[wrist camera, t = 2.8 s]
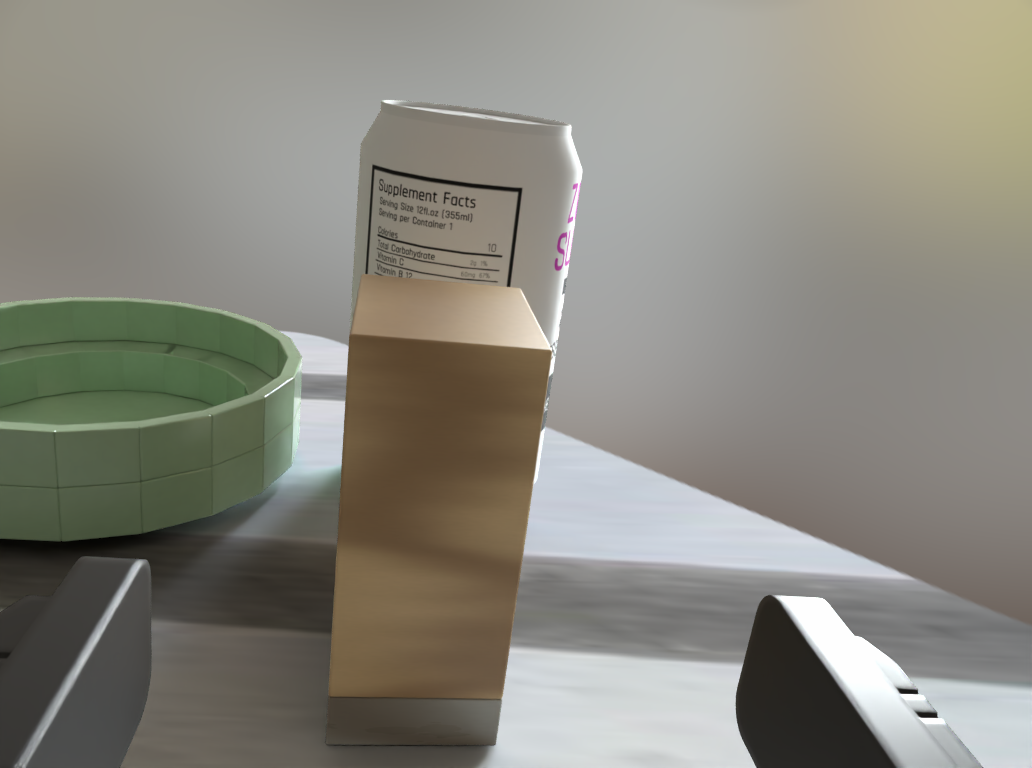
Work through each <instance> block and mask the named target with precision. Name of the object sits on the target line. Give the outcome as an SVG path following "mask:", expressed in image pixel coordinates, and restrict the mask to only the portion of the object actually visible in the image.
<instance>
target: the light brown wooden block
mask: <svg viewBox="0 0 1032 768" xmlns="http://www.w3.org/2000/svg"><path fill="white" fill-rule="evenodd" d="M551 359H552V350H551V348H550V346H549V344H548V342H547V340H546V338H545V336H544V334H543V332H542V330H541V328H540V326H539V324H538V322H537V320H536V318H535V316H534V314H533V312H532V310H531V308H530V306H529V304H528V302H527V300H526V298H525V296H524V294H523V293H522V291H521V289H520V288H513V287H502V286H491V285H480V284H469V283H458V282H447V281H436V280H425V279H414V278H403V277H392V276H381V275H370V274H362V275H361V278H360V283H359V289H358V294H357V299H356V304H355V309H354V315H353V320H352V325H351V330H350V336H349V351H348V368H347V385H346V402H345V419H344V436H343V453H342V470H341V487H340V504H339V521H338V538H337V555H336V572H335V589H334V606H333V623H332V639H331V656H330V673H329V690H328V707H327V724H326V741H325V742H326V744H334V745H495V744H496V739H497V733H498V726H499V719H500V712H501V705H502V696H503V690H504V683H505V676H506V669H507V663H508V656H509V649H510V642H511V635H512V628H513V621H514V614H515V607H516V600H517V594H518V587H519V580H520V573H521V566H522V559H523V552H524V545H525V538H526V531H527V524H528V518H529V511H530V504H531V497H532V490H533V483H534V476H535V469H536V462H537V455H538V449H539V442H540V435H541V428H542V421H543V414H544V407H545V400H546V393H547V386H548V379H549V373H550V366H551Z"/></svg>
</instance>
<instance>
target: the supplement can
mask: <svg viewBox="0 0 1032 768" xmlns="http://www.w3.org/2000/svg"><path fill="white" fill-rule="evenodd" d="M571 127H572V126H571V125H570V124H568V123H564V122H559V121H555V120H549V119H544V118H538V117H533V116H526V115H519V114H512V113H506V112H499V111H492V110H485V109H477V108H469V107H460V106H452V105H443V104H434V103H423V102H412V101H399V100H384V101H381V111H380V113H379V114H378V116H377V118H376V119H375V121H374V123H373V124H372V126H371V128H370V129H369V131H368V133H367V135H366V136H365V138H364V139H363V141H362V143H361V152H360V153H361V154H360V168H359V185H358V203H357V218H356V236H355V252H354V269H353V287H352V303H351V319H350V330H351V325H352V320H353V315H354V309H355V304H356V299H357V294H358V289H359V283H360V278H361V275H362V274H370V275H381V276H392V277H403V278H414V279H425V280H436V281H447V282H458V283H469V284H480V285H491V286H502V287H513V288H520V289H521V291H522V293H523V294H524V296H525V298H526V300H527V302H528V304H529V306H530V308H531V310H532V312H533V314H534V316H535V318H536V320H537V322H538V324H539V326H540V328H541V330H542V332H543V334H544V336H545V338H546V340H547V342H548V344H549V346H550V348H551V350H552V359H551V366H550V373H549V379H548V386H547V393H546V400H545V407H544V414H543V421H542V428H541V435H540V442H539V449H538V455H537V462H536V469H535V476H534V483H535V481H536V480H537V477H538V470H539V463H540V457H541V450H542V443H543V436H544V429H545V423H546V415H547V409H548V402H549V395H550V389H551V382H552V375H553V368H554V361H555V355H556V348H557V341H558V334H559V327H560V321H561V313H562V306H563V300H564V293H565V287H566V280H567V273H568V266H569V259H570V253H571V246H572V239H573V232H574V225H575V218H576V212H577V205H578V198H579V191H580V185H581V178H582V167H581V164H580V161H579V159H578V155H577V152H576V149H575V147H574V143H573V141H572V137H571ZM349 336H350V335H349ZM343 436H344V435H343ZM342 453H343V452H342ZM534 483H533V484H534Z"/></svg>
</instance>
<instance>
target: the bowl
mask: <svg viewBox="0 0 1032 768" xmlns="http://www.w3.org/2000/svg"><path fill="white" fill-rule="evenodd" d="M301 379H302V357H301V355H300V353H299V351H298V350H297V348H296V346H295V345H294V343H293V341H292V340H291V338H289V337H287V336H286V335H284V334H282V333H281V332H279V331H277V330H276V329H274V328H272V327H271V326H269V325H267V324H266V323H262V322H259V321H256V320H253V319H250V318H247V317H244V316H241V315H238V314H235V313H232V312H229V311H224V310H219V309H214V308H208V307H203V306H197V305H192V304H187V303H180V302H170V301H159V300H147V299H136V298H88V297H86V298H85V297H84V298H82V297H81V298H80V297H72V298H69V297H68V298H54V299H41V300H27V301H14V302H6V303H0V539H18V540H38V541H63V542H64V541H74V540H84V539H94V538H104V537H114V536H124V535H134V534H141V533H147V532H150V531H154V530H158V529H162V528H166V527H170V526H174V525H178V524H182V523H186V522H190V521H194V520H198V519H202V518H206V517H210V516H213V515H215V514H218V513H220V512H222V511H224V510H226V509H228V508H230V507H233V506H235V505H237V504H239V503H241V502H243V501H246V500H248V499H250V498H252V497H254V496H256V495H258V494H261V493H262V492H263V491H264V490H265V489H266V488H268V487H269V486H270V485H271V484H272V483H273V482H274V481H275V480H277V479H278V478H279V477H280V476H281V475H282V474H283V473H284V472H285V471H287V470H288V469H289V468H290V466H291V465H292V463H293V459H294V456H295V453H296V450H297V447H298V443H299V430H300V404H301V402H300V400H301Z"/></svg>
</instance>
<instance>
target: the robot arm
mask: <svg viewBox="0 0 1032 768" xmlns="http://www.w3.org/2000/svg"><path fill="white" fill-rule="evenodd" d="M150 677H151V571H150V565H149V563H148V561H147V560H144V559H126V558H107V557H89V556H83V557H81V558H79V559H78V560H77V562H76V563H75V564H74V566H73V567H72V568H71V570H70V571H69V573H68V574H67V575H66V577H65V578H64V580H63V581H62V582H61V584H60V585H59V587H58V588H57V589H56V591H55V592H54V594H53V595H52V596H32V595H27V596H25V597H23V598H22V599H20V600H19V601H17V602H15V603H14V604H12V605H11V606H9V607H8V608H6V609H4V610H3V611H1V612H0V768H120V766H121V764H122V762H123V759H124V757H125V755H126V752H127V750H128V748H129V745H130V743H131V741H132V739H133V736H134V734H135V732H136V729H137V727H138V725H139V722H140V720H141V717H142V714H143V711H144V708H145V704H146V700H147V696H148V691H149V685H150ZM736 717H737V723H738V728H739V731H740V734H741V737H742V739H743V741H744V743H745V745H746V747H747V749H748V751H749V753H750V755H751V757H752V759H753V761H754V763H755V765H756V767H757V768H983V767H982V765H981V764H980V763H979V762H978V761H977V759H976V758H975V757H974V756H973V755H972V753H971V752H970V751H969V750H968V749H967V748H966V746H965V745H964V744H963V743H962V742H961V740H960V739H959V738H958V737H957V736H956V734H955V733H954V732H953V731H952V730H951V728H950V727H949V726H948V725H947V724H946V722H945V721H944V720H943V719H938V717H937V712H936V710H935V709H934V708H933V707H932V706H931V704H930V703H929V702H928V701H927V700H926V698H925V697H924V696H923V695H918V689H917V688H916V686H915V685H914V684H913V683H912V682H911V680H910V679H909V678H908V677H907V676H906V674H905V673H904V672H903V671H902V670H901V668H900V667H899V666H898V665H897V664H896V662H895V661H893V660H892V659H891V658H889V657H888V656H886V655H885V654H884V653H882V652H881V651H879V650H878V649H877V648H875V647H874V646H873V645H871V644H870V643H868V642H867V641H866V640H864V639H863V638H861V637H855V636H854V635H853V634H852V633H851V631H850V630H849V629H848V628H847V626H846V625H845V624H844V623H843V621H842V620H841V619H840V618H839V616H838V615H837V614H836V613H835V611H834V610H833V609H832V608H831V606H830V605H829V604H828V603H827V602H826V601H825V600H823V599H821V598H813V597H794V596H776V595H768V596H766V597H764V598H763V599H762V601H761V602H760V604H759V606H758V609H757V612H756V616H755V620H754V624H753V628H752V632H751V636H750V640H749V644H748V648H747V652H746V656H745V660H744V664H743V667H742V671H741V675H740V679H739V683H738V687H737V693H736Z"/></svg>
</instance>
